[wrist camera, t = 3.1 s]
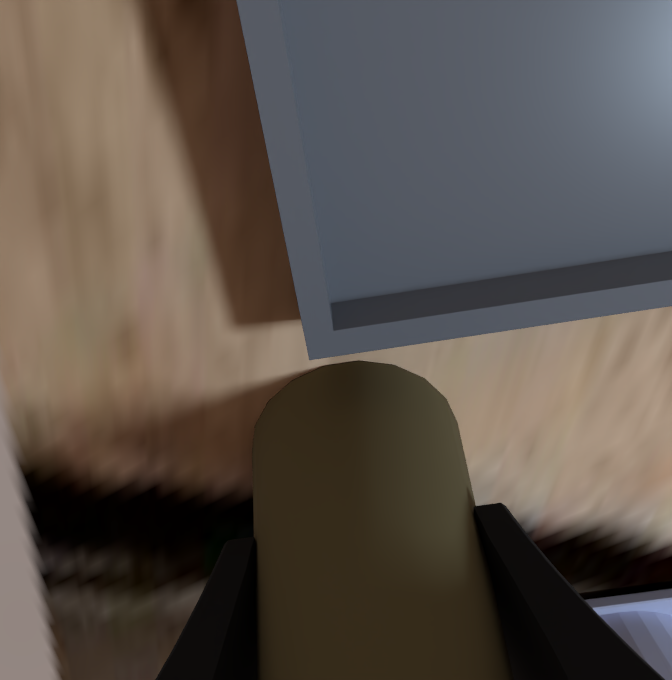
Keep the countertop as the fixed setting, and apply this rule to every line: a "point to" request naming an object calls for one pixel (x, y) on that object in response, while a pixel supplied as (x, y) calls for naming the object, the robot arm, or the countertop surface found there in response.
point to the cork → (369, 535)
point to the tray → (466, 162)
